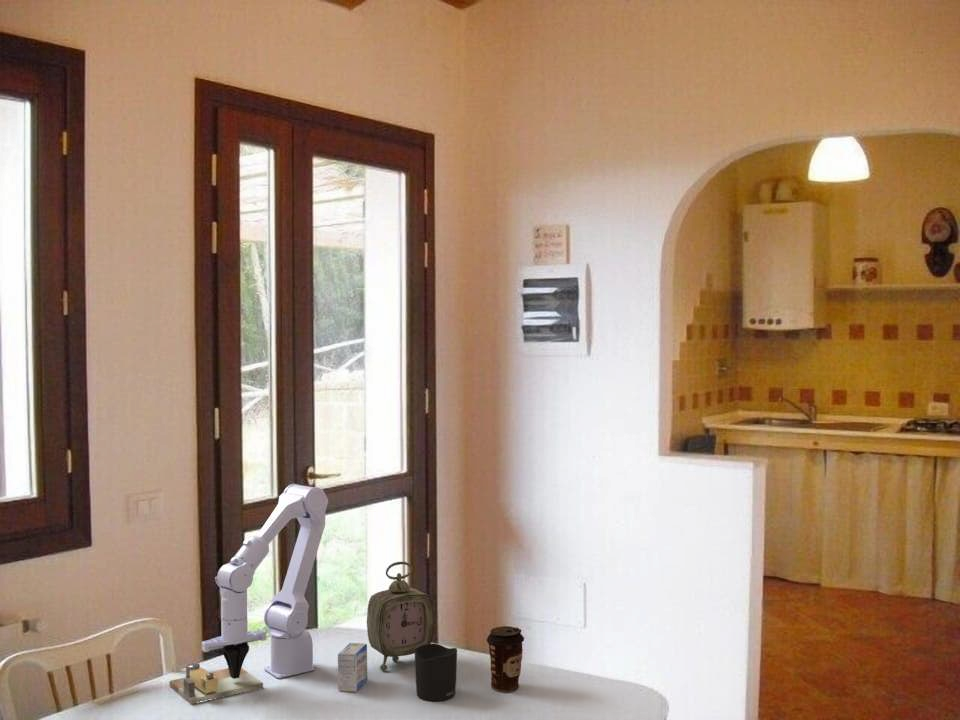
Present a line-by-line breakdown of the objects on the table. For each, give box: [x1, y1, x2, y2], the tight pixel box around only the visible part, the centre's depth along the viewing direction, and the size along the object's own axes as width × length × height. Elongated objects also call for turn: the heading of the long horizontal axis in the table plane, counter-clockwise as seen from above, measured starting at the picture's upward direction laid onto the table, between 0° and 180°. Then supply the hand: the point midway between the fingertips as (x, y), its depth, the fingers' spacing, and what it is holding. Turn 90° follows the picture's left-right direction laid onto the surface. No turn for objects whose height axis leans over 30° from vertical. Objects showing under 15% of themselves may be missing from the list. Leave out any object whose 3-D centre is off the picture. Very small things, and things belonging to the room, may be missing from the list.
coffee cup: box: [486, 625, 525, 693], centre depth 214 cm, size 9×8×13 cm
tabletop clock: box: [366, 561, 435, 672], centre depth 230 cm, size 14×9×25 cm, turn 120°
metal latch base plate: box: [169, 667, 264, 705], centre depth 215 cm, size 16×14×4 cm
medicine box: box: [337, 642, 368, 693], centre depth 216 cm, size 8×4×9 cm, turn 168°
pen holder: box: [414, 643, 458, 702], centre depth 210 cm, size 9×9×10 cm
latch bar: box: [185, 662, 218, 693], centre depth 212 cm, size 12×3×4 cm, turn 40°
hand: (234, 677), depth 215 cm, fingers closed
